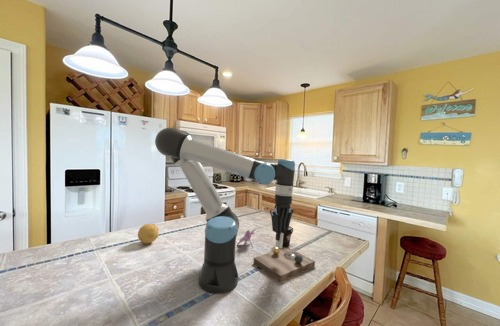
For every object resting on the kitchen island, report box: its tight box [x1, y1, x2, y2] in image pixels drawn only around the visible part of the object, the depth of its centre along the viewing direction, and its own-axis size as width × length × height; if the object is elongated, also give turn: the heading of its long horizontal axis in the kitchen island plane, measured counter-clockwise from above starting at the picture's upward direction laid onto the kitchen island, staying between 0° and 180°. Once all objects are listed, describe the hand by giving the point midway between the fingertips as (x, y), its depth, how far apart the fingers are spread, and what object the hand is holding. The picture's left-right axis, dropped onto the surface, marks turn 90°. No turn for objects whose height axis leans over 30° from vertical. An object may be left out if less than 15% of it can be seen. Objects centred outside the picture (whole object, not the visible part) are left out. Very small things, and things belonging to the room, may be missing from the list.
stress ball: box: [137, 223, 160, 245], centre depth 112 cm, size 10×10×10 cm
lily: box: [236, 229, 256, 248], centre depth 115 cm, size 12×12×10 cm
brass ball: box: [272, 246, 280, 255], centre depth 101 cm, size 3×3×3 cm
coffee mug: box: [282, 225, 294, 248], centre depth 119 cm, size 12×9×10 cm
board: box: [253, 247, 316, 283], centre depth 97 cm, size 22×17×2 cm
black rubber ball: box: [295, 255, 302, 263], centre depth 94 cm, size 3×3×3 cm
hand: (278, 246), depth 95 cm, fingers closed
